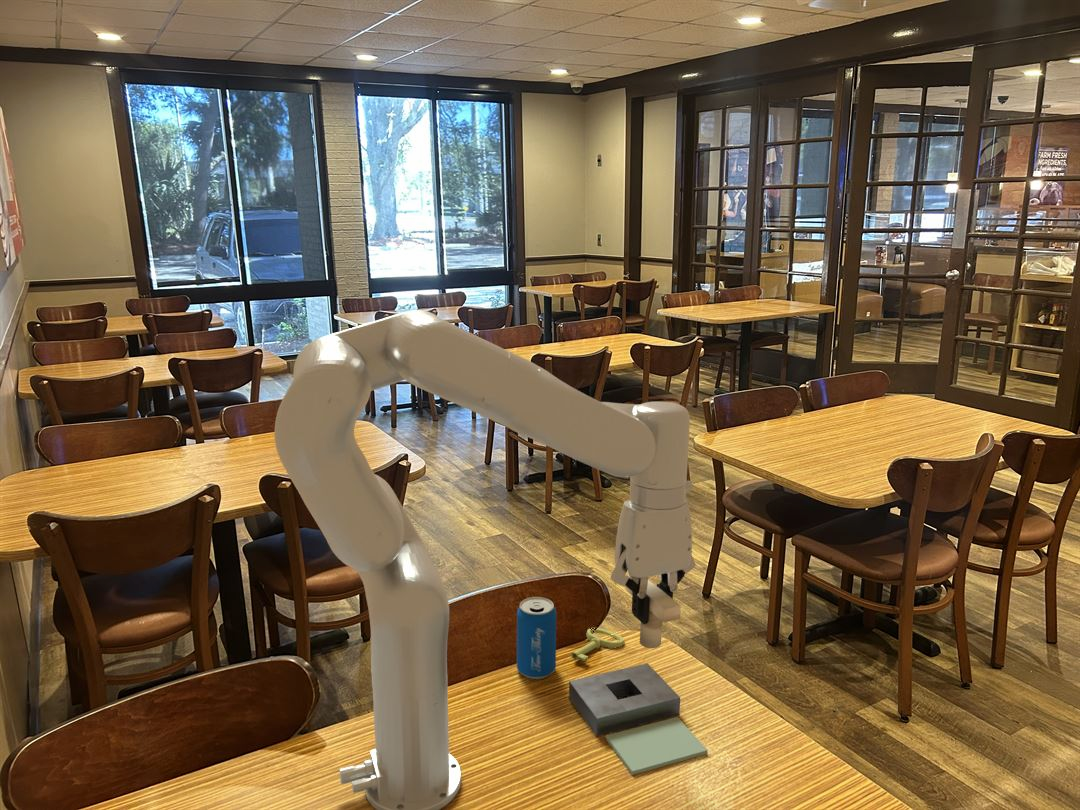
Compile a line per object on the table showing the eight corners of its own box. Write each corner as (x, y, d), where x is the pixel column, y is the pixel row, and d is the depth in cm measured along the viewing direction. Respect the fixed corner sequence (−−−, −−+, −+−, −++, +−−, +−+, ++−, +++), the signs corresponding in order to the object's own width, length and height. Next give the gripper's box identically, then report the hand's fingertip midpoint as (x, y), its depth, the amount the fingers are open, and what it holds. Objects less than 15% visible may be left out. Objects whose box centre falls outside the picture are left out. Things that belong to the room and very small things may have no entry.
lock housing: (596, 736, 112) (597, 718, 111) (568, 698, 121) (569, 681, 120) (679, 715, 117) (680, 697, 116) (646, 679, 126) (647, 663, 125)
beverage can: (517, 681, 125) (517, 615, 122) (516, 659, 131) (516, 595, 129) (556, 681, 125) (557, 614, 123) (554, 659, 132) (555, 595, 129)
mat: (632, 775, 104) (632, 771, 104) (605, 739, 111) (605, 735, 111) (707, 753, 108) (707, 749, 108) (677, 720, 116) (677, 716, 116)
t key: (623, 628, 113) (625, 578, 111) (641, 624, 114) (643, 574, 112) (660, 663, 104) (663, 609, 102) (679, 658, 105) (682, 605, 103)
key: (569, 665, 131) (570, 654, 130) (590, 630, 142) (590, 620, 141) (610, 673, 128) (611, 662, 128) (628, 638, 140) (628, 627, 139)
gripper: (692, 477, 110) (685, 594, 115) (591, 492, 104) (587, 615, 108) (724, 494, 104) (715, 618, 108) (618, 511, 97) (613, 641, 101)
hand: (651, 615), depth 108 cm, fingers closed on t key, 3 cm apart
